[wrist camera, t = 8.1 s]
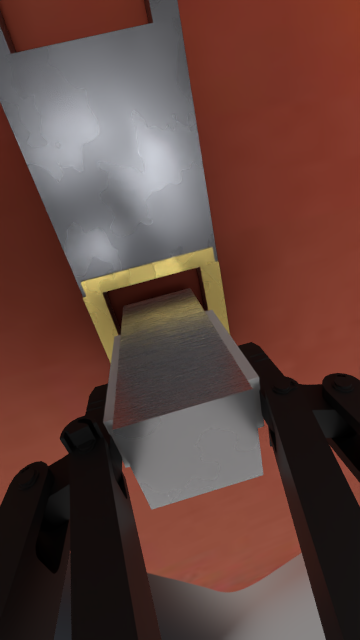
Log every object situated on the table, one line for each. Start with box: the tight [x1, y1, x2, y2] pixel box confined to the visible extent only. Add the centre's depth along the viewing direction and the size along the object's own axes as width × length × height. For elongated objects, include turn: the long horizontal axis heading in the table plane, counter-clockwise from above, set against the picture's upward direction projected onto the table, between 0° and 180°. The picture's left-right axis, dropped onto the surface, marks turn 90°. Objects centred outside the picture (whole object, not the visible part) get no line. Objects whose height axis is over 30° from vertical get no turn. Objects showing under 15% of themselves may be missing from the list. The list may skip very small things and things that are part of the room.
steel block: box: [112, 288, 263, 509], centre depth 14 cm, size 4×4×10 cm
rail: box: [0, 0, 230, 363], centre depth 15 cm, size 32×9×1 cm, turn 13°
